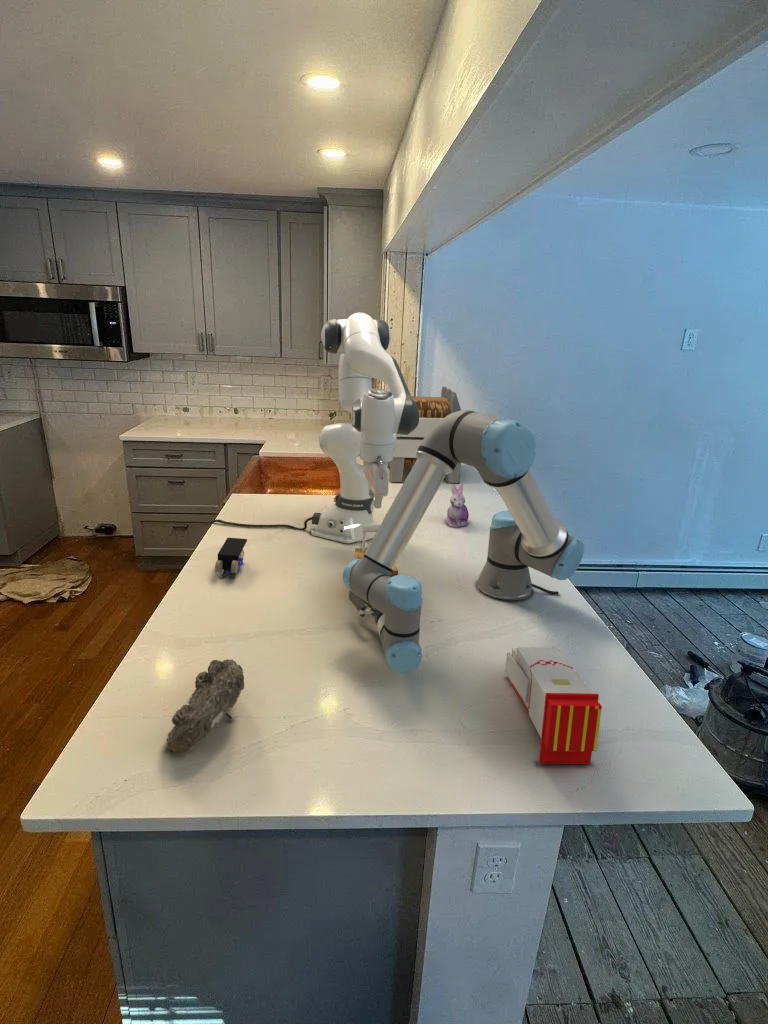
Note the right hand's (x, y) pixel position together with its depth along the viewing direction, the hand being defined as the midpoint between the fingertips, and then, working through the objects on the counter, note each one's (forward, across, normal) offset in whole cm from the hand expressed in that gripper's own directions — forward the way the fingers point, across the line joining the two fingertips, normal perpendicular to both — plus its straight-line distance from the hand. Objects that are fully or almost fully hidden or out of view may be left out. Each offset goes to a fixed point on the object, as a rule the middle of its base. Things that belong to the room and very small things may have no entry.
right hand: (377, 579), depth 152 cm
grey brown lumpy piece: (-42, -38, -6) cm, 57 cm away
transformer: (+123, +41, -6) cm, 130 cm away
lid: (+4, 0, +3) cm, 5 cm away
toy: (-49, +26, -6) cm, 55 cm away
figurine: (+56, +39, -6) cm, 69 cm away
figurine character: (+22, -40, -6) cm, 46 cm away
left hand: (+10, 0, +19) cm, 21 cm away
